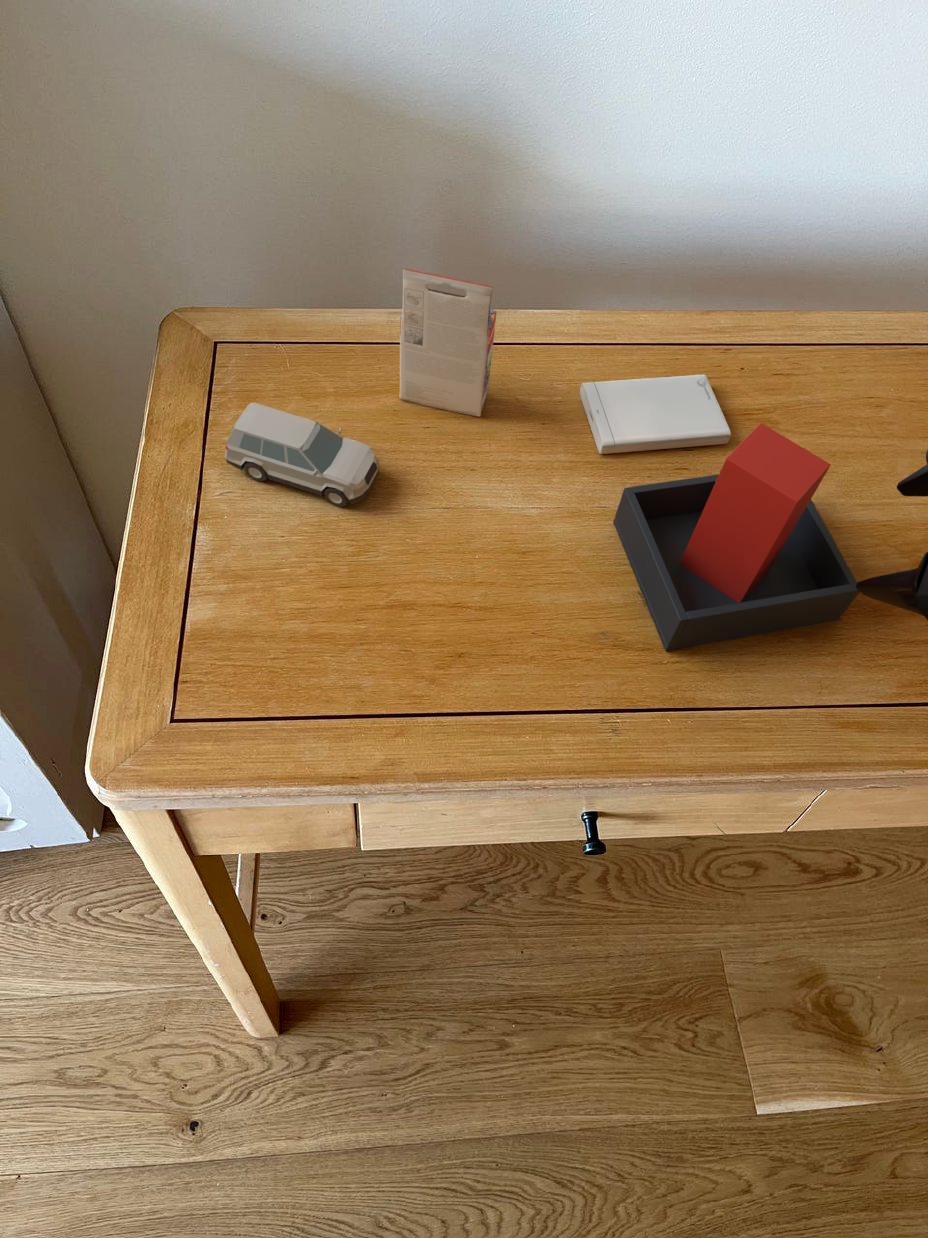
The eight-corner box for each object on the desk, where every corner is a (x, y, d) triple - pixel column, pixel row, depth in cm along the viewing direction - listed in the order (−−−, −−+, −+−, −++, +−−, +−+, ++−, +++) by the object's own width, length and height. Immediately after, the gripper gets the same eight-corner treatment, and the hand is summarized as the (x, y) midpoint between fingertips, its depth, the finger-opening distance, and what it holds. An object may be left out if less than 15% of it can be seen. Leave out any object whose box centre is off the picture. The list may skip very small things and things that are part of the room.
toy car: (360, 517, 79) (359, 478, 75) (224, 473, 81) (215, 433, 77) (385, 470, 82) (385, 430, 78) (253, 429, 84) (246, 388, 80)
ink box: (408, 375, 89) (411, 241, 77) (488, 393, 89) (504, 261, 76) (397, 402, 87) (399, 268, 75) (480, 420, 87) (495, 288, 74)
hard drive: (705, 372, 90) (581, 380, 88) (732, 433, 86) (603, 443, 84) (700, 385, 91) (578, 393, 89) (726, 446, 87) (599, 456, 85)
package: (770, 568, 79) (831, 464, 68) (739, 604, 76) (797, 502, 65) (710, 530, 80) (761, 422, 70) (679, 563, 78) (726, 457, 67)
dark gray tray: (773, 498, 84) (791, 463, 80) (838, 621, 77) (862, 589, 73) (612, 522, 81) (623, 487, 77) (665, 651, 74) (680, 620, 70)
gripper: (1095, 275, 53) (857, 367, 66) (1011, 523, 46) (764, 570, 59) (1182, 408, 57) (941, 469, 70) (1117, 655, 50) (863, 671, 63)
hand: (880, 538), depth 66 cm, fingers open, 9 cm apart
